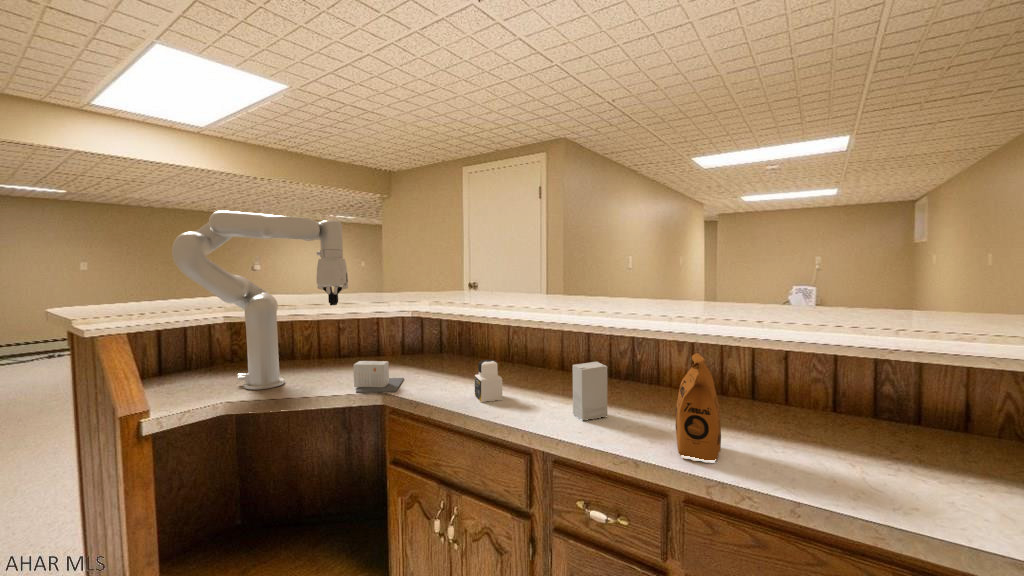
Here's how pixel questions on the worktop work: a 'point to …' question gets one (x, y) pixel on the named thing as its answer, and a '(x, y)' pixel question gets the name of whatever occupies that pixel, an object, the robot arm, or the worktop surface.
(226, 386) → the worktop surface
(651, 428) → the worktop surface
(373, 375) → the small box
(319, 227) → the robot arm
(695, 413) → the coffee package
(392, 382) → the mat
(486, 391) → the medicine bottle
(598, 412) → the skincare box
